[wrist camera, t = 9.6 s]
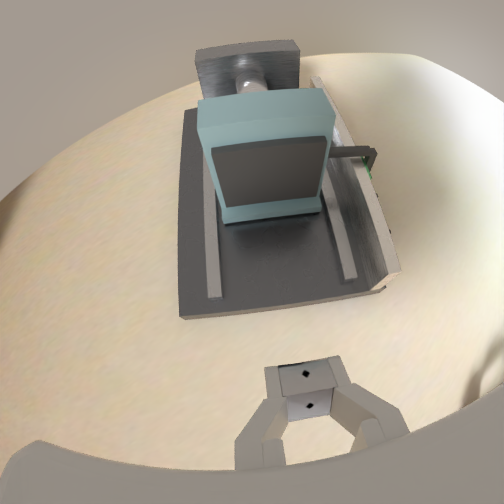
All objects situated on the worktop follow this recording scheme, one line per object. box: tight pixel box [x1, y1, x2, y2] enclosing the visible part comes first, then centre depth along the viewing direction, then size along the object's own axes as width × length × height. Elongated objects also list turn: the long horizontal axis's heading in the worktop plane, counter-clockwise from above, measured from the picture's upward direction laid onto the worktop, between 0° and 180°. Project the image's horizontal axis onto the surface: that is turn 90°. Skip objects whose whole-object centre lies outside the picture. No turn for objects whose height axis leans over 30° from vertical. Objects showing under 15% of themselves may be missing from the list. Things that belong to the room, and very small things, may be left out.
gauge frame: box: [178, 40, 401, 320], centre depth 22 cm, size 24×16×10 cm, turn 6°
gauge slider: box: [197, 88, 377, 224], centre depth 19 cm, size 5×13×9 cm, turn 96°
